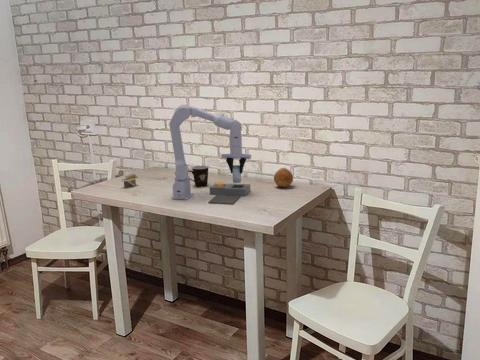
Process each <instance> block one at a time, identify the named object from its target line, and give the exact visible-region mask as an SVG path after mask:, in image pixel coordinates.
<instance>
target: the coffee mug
mask: <svg viewBox="0 0 480 360" xmlns="http://www.w3.org/2000/svg"><path fill="white" fill-rule="evenodd" d="M188 173H191V174H192V176H193V179H192V178H190V181H191V182H194V186H195V188H205V187H208V181H209V180H208V179H209V166H208V165H196V166H192V167H191V170H189V171H188Z"/></svg>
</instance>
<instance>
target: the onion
mask: <svg viewBox="0 0 480 360" xmlns="http://www.w3.org/2000/svg"><path fill="white" fill-rule="evenodd" d="M293 175H294V174H292V171H290V169H288V168H286V167H281V168H279V169H278V170H276V172H275V173H274V175H273V181H274V183H275V184H276V186H278V187H280V188H282V189H283V188H288V187H289V186H291V185H292V183H293V181H294V176H293Z"/></svg>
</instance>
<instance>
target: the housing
mask: <svg viewBox="0 0 480 360" xmlns="http://www.w3.org/2000/svg"><path fill="white" fill-rule="evenodd" d="M217 183H218V182H215V183H213V184H212V185H211V186H209V195H214V196H216V195H226V196H240V197H246V196H247V195H248V194H249V193H250V192H251V184H250V183H224V187H217Z"/></svg>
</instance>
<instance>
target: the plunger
mask: <svg viewBox="0 0 480 360" xmlns="http://www.w3.org/2000/svg"><path fill="white" fill-rule="evenodd" d="M216 183H217V187H224V184H225V183H224V182H216Z"/></svg>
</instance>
